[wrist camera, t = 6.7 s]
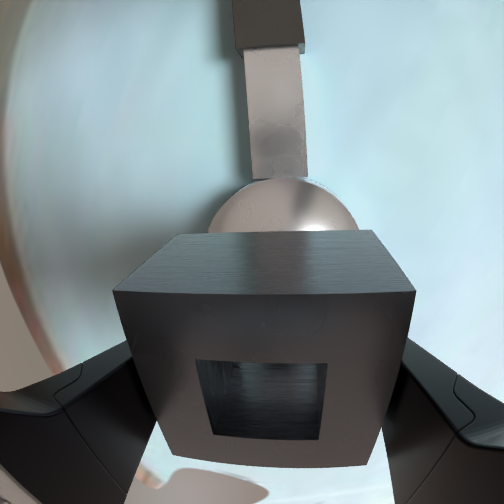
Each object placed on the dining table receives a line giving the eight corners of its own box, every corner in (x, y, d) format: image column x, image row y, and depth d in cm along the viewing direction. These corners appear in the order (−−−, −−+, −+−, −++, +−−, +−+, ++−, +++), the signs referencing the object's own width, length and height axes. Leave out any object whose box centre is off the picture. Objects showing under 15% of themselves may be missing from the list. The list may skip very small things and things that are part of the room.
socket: (371, 229, 9) (415, 290, 5) (354, 380, 11) (366, 465, 7) (177, 234, 10) (111, 290, 6) (203, 377, 12) (172, 454, 8)
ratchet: (338, -21, 11) (353, -87, 5) (352, 310, 18) (371, 386, 12) (195, -9, 12) (147, -64, 6) (221, 311, 19) (189, 382, 13)
